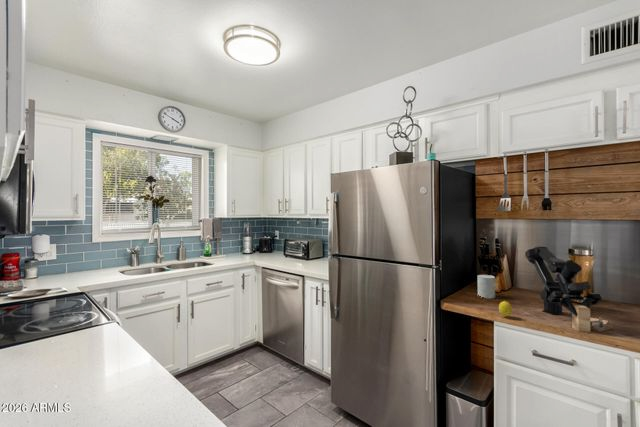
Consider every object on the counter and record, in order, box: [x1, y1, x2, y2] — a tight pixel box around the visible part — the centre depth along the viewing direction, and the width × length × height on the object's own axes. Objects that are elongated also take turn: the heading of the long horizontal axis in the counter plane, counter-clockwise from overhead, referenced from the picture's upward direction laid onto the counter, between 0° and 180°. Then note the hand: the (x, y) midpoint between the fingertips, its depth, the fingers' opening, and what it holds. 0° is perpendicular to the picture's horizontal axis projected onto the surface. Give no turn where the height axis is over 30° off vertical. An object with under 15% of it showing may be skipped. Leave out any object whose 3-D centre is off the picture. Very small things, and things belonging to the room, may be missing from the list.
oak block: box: [571, 304, 591, 333], centre depth 130 cm, size 4×4×10 cm
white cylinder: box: [477, 274, 496, 299], centre depth 184 cm, size 10×10×12 cm
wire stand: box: [590, 317, 612, 332], centre depth 132 cm, size 5×10×4 cm, turn 112°
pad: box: [590, 316, 609, 325], centre depth 140 cm, size 7×7×1 cm
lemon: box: [498, 300, 513, 318], centre depth 147 cm, size 6×6×8 cm
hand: (583, 315), depth 129 cm, fingers closed on oak block, 4 cm apart
